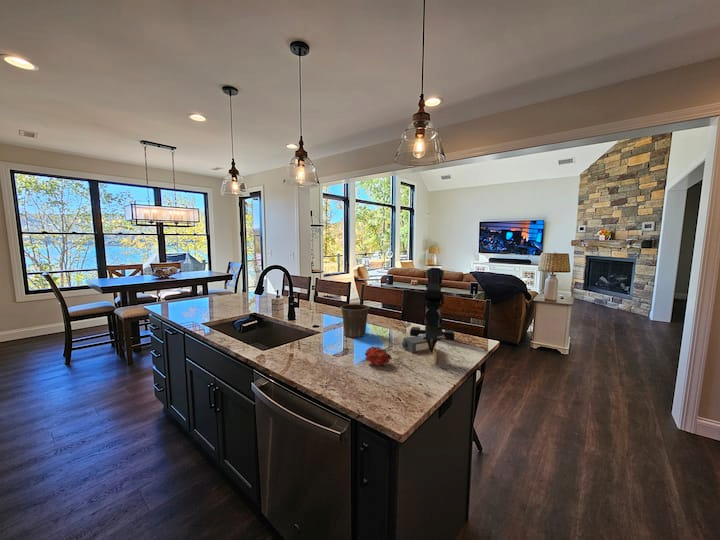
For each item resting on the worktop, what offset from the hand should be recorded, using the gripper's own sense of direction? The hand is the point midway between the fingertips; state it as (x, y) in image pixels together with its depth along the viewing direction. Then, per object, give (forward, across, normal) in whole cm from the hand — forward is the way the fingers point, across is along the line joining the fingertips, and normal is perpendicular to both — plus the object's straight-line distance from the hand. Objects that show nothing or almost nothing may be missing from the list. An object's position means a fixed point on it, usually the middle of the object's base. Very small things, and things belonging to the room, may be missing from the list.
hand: (431, 352), depth 131 cm
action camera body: (+4, -7, +14) cm, 16 cm away
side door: (+4, +1, +5) cm, 7 cm away
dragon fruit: (+5, -22, -11) cm, 25 cm away
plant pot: (+4, -44, +26) cm, 51 cm away
